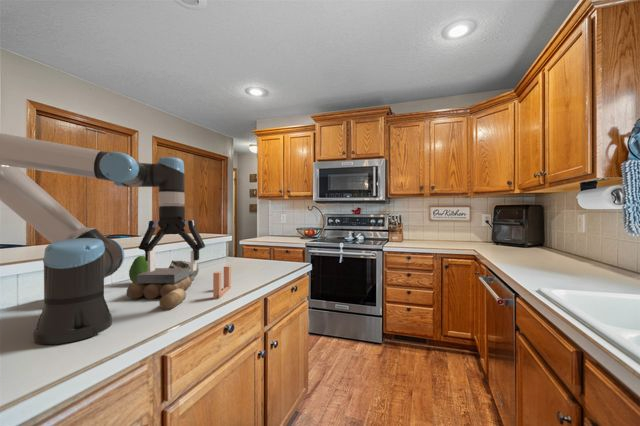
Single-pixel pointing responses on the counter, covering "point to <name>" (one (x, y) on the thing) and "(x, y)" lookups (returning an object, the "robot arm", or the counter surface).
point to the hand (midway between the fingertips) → (172, 270)
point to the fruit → (138, 268)
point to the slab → (163, 275)
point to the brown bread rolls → (156, 288)
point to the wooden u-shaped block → (217, 282)
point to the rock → (184, 265)
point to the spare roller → (172, 299)
